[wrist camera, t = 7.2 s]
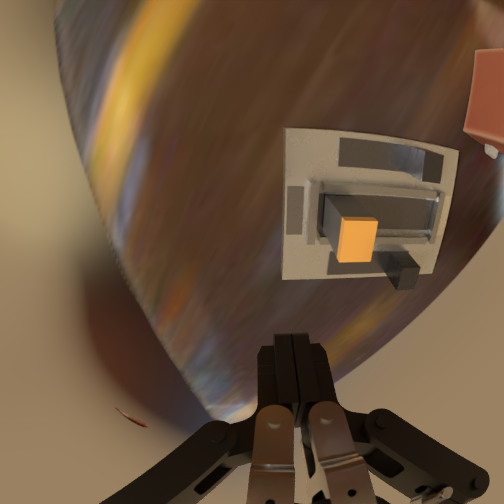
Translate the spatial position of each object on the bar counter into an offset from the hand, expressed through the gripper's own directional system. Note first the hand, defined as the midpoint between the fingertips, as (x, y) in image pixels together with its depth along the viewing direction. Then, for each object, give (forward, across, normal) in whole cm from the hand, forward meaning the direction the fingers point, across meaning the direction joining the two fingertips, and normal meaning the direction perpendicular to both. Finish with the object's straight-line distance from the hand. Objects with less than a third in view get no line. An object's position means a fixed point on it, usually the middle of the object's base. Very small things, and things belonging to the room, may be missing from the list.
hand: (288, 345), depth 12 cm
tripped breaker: (+16, -7, 0) cm, 17 cm away
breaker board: (+19, -11, 0) cm, 22 cm away
